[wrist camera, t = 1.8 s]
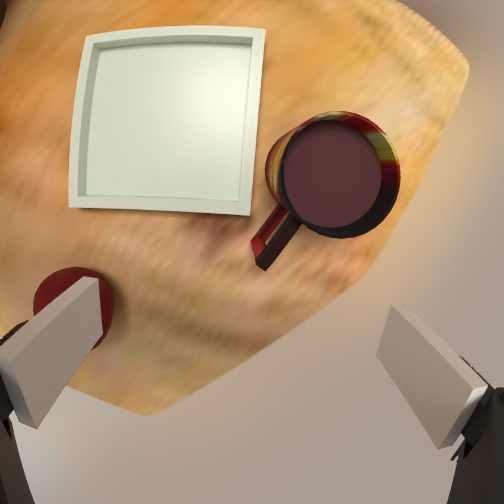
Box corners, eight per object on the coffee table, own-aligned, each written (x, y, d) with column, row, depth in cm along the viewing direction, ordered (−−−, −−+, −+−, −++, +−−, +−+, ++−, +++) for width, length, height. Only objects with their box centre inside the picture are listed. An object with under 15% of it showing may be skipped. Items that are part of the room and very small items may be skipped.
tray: (96, 43, 28) (86, 35, 25) (263, 39, 29) (265, 29, 26) (80, 203, 33) (68, 207, 30) (248, 211, 34) (249, 215, 31)
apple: (53, 295, 36) (13, 329, 26) (79, 239, 34) (35, 264, 24) (107, 337, 38) (78, 381, 28) (139, 285, 36) (110, 324, 26)
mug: (249, 242, 35) (256, 279, 24) (273, 119, 32) (293, 96, 20) (330, 256, 36) (370, 297, 25) (356, 140, 33) (409, 132, 21)
